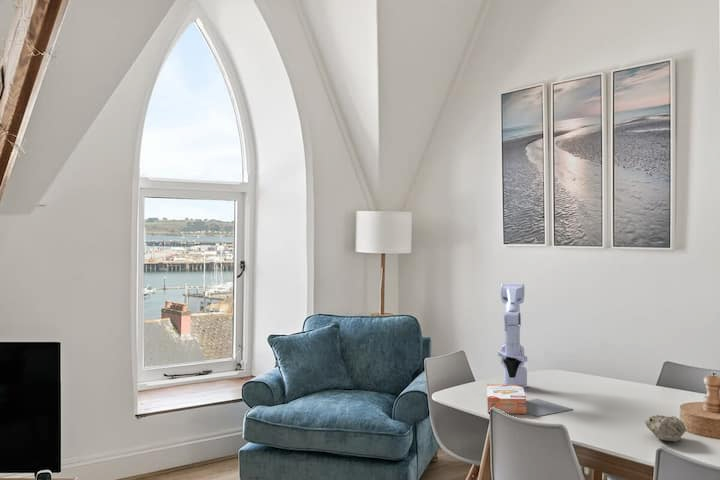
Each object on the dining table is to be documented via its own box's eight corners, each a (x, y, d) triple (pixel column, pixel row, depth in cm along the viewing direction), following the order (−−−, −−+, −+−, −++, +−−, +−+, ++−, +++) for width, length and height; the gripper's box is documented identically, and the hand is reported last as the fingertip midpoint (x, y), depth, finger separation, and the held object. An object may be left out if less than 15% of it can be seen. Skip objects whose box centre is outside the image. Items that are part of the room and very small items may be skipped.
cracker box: (522, 383, 262) (526, 398, 242) (523, 398, 262) (527, 414, 242) (486, 383, 264) (487, 397, 244) (486, 398, 265) (487, 414, 244)
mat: (537, 399, 264) (537, 398, 264) (573, 409, 249) (573, 409, 249) (502, 405, 255) (502, 404, 255) (537, 416, 240) (537, 415, 240)
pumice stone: (688, 450, 204) (688, 423, 203) (646, 445, 208) (646, 419, 208) (684, 436, 216) (684, 412, 216) (644, 432, 221) (644, 408, 221)
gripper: (492, 340, 268) (492, 374, 268) (517, 346, 255) (517, 381, 255) (505, 339, 271) (505, 372, 271) (531, 344, 259) (531, 379, 259)
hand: (512, 377), depth 263 cm, fingers closed
